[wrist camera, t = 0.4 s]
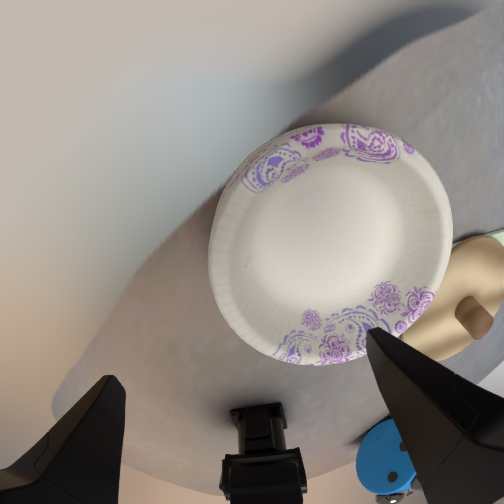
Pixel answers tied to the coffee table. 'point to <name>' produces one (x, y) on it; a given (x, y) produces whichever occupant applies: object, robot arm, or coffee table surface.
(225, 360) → the coffee table surface
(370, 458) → the alarm clock
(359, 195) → the white and purple bowl
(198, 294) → the coffee table surface
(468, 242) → the lid
